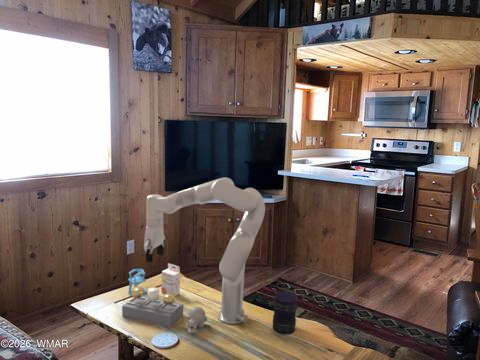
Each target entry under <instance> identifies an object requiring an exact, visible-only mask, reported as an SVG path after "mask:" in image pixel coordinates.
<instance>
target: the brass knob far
mask: <svg viewBox="0 0 480 360" xmlns="http://www.w3.org/2000/svg"><path fill="white" fill-rule="evenodd" d="M144 289H145V288H144V287H142V286H141V287H140V286H137V287H134V286H133V287H132V289H131V290H132V298H133V297H135V298H139V297H142V296H145V294H144Z"/></svg>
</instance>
